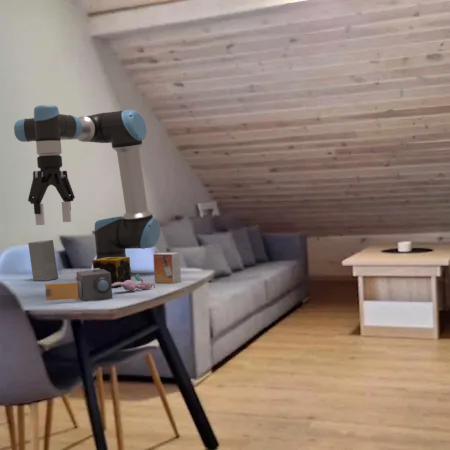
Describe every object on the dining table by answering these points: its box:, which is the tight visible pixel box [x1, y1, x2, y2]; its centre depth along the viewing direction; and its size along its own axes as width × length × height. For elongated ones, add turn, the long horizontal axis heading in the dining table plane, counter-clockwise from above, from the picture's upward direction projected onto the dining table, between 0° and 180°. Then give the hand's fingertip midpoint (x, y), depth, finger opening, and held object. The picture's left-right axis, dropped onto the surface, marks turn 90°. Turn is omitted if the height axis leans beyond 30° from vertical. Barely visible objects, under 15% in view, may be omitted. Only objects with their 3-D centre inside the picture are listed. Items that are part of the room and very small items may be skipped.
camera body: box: [75, 268, 113, 302], centre depth 212 cm, size 14×9×9 cm, turn 21°
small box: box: [153, 252, 182, 284], centre depth 237 cm, size 8×6×10 cm
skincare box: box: [27, 239, 59, 282], centre depth 264 cm, size 8×7×16 cm
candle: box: [91, 256, 132, 289], centre depth 236 cm, size 10×10×10 cm
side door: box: [44, 281, 82, 301], centre depth 205 cm, size 11×2×5 cm, turn 91°
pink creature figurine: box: [112, 273, 156, 293], centre depth 221 cm, size 6×6×15 cm
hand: (54, 223), depth 208 cm, fingers open, 12 cm apart
